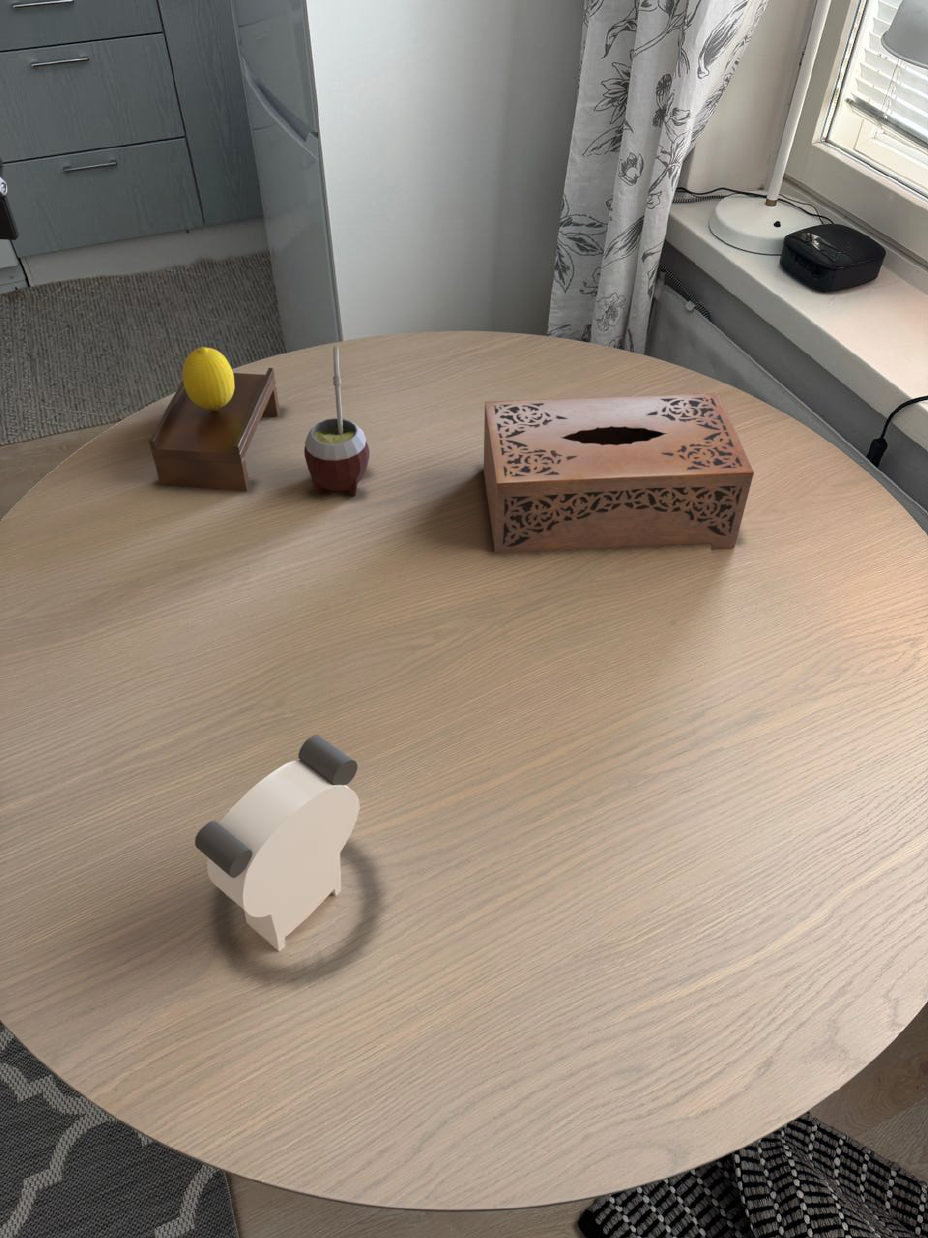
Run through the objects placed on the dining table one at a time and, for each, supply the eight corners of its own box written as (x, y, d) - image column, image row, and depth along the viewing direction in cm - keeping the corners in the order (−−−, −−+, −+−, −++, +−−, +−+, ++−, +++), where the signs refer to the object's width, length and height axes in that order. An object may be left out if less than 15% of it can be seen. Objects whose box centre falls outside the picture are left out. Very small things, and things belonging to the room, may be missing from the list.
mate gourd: (332, 517, 110) (318, 401, 99) (294, 483, 114) (276, 368, 104) (387, 491, 113) (379, 375, 103) (348, 458, 118) (336, 344, 107)
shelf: (162, 491, 113) (148, 440, 108) (202, 412, 124) (191, 362, 119) (248, 497, 112) (238, 446, 107) (281, 417, 124) (273, 367, 119)
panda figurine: (306, 816, 83) (283, 700, 72) (408, 895, 78) (399, 783, 67) (193, 919, 76) (149, 808, 66) (296, 1012, 71) (267, 908, 61)
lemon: (231, 392, 117) (219, 330, 111) (245, 416, 113) (233, 354, 107) (185, 403, 115) (170, 341, 109) (197, 428, 112) (183, 365, 106)
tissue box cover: (702, 466, 117) (718, 392, 110) (734, 547, 107) (754, 472, 99) (483, 475, 115) (484, 401, 108) (494, 558, 105) (497, 483, 98)
